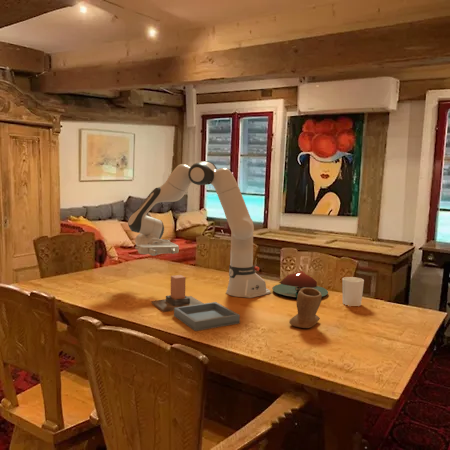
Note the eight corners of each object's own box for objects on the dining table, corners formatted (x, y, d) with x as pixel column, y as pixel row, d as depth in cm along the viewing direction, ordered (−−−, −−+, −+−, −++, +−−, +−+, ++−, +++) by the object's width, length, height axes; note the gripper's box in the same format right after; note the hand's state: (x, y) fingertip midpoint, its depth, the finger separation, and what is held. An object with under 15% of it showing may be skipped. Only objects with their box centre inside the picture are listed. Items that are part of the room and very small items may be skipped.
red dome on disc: (265, 296, 229) (266, 274, 228) (280, 283, 255) (281, 263, 254) (322, 303, 219) (323, 280, 218) (332, 289, 245) (333, 269, 243)
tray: (215, 309, 206) (215, 301, 206) (239, 323, 189) (239, 314, 188) (174, 315, 196) (174, 307, 196) (195, 330, 179) (195, 322, 178)
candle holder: (364, 303, 222) (365, 278, 221) (360, 308, 213) (362, 282, 212) (343, 300, 226) (344, 275, 225) (339, 305, 217) (340, 280, 216)
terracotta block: (180, 300, 215) (180, 274, 214) (185, 303, 211) (185, 277, 210) (170, 301, 213) (170, 275, 211) (174, 304, 209) (175, 278, 207)
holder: (190, 298, 223) (191, 290, 223) (204, 305, 211) (204, 298, 211) (151, 303, 213) (151, 295, 213) (163, 311, 201) (163, 303, 201)
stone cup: (313, 332, 180) (315, 295, 178) (285, 326, 186) (287, 290, 184) (327, 322, 193) (329, 286, 191) (300, 316, 199) (301, 282, 197)
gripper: (133, 240, 227) (145, 246, 215) (171, 239, 238) (184, 245, 226) (133, 253, 228) (144, 259, 216) (171, 251, 239) (183, 257, 227)
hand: (165, 252), depth 221 cm, fingers open, 8 cm apart
